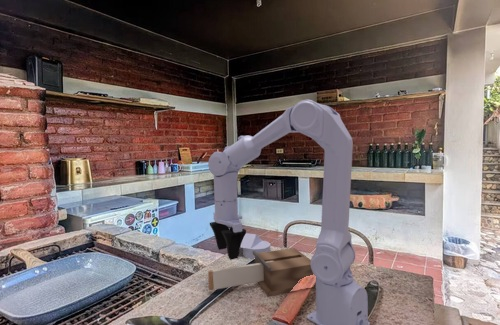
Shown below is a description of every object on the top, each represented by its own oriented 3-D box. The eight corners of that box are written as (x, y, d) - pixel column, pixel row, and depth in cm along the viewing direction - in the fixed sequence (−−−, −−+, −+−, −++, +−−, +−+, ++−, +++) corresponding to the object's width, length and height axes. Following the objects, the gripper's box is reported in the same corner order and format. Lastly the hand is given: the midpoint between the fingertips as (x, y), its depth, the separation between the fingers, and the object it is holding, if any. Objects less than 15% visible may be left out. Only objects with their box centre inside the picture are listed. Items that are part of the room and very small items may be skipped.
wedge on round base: (227, 255, 94) (263, 261, 88) (227, 235, 93) (263, 240, 88) (240, 246, 102) (274, 251, 96) (240, 228, 102) (274, 232, 96)
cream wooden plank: (273, 277, 74) (273, 260, 74) (275, 278, 73) (274, 262, 73) (208, 288, 69) (208, 270, 69) (209, 290, 68) (208, 272, 68)
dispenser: (294, 268, 82) (294, 245, 82) (316, 287, 71) (315, 260, 71) (251, 275, 78) (251, 251, 78) (267, 296, 67) (267, 268, 67)
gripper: (253, 202, 66) (254, 259, 67) (229, 194, 79) (231, 242, 80) (225, 206, 63) (227, 266, 64) (205, 197, 76) (207, 246, 77)
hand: (227, 253), depth 72 cm, fingers open, 7 cm apart
